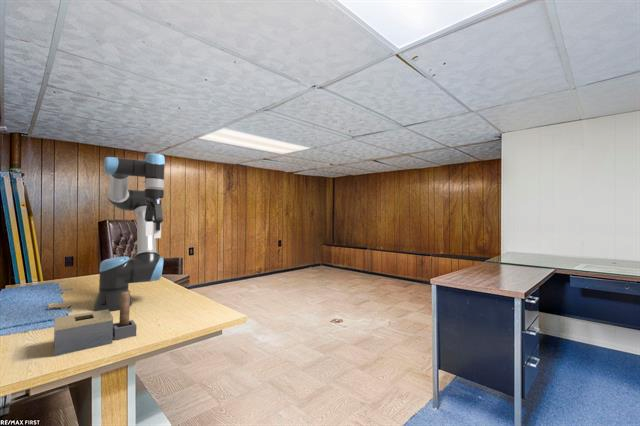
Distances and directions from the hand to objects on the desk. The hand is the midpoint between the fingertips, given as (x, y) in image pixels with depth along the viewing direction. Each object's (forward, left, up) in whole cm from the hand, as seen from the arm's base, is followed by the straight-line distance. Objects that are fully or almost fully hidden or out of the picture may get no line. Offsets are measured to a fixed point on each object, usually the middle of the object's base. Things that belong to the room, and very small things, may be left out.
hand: (152, 237), depth 132 cm
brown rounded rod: (+17, -13, -35) cm, 41 cm away
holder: (+17, -13, -35) cm, 41 cm away
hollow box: (+17, -25, -35) cm, 46 cm away
